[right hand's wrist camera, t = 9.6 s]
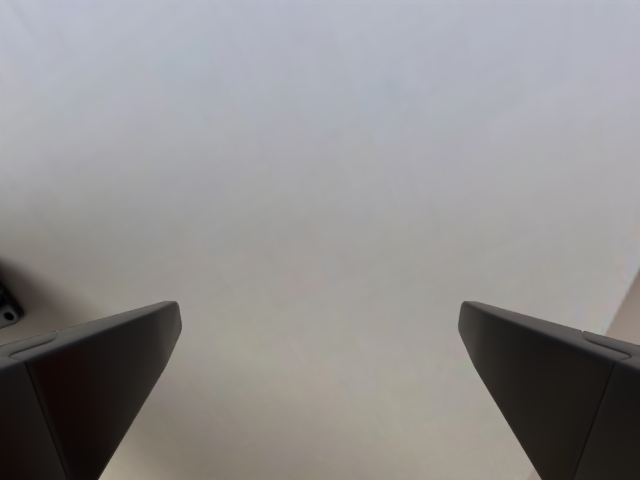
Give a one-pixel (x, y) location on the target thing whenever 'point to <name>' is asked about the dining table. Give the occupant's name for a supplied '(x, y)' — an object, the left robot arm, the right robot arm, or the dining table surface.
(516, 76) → the dining table surface
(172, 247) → the dining table surface
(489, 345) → the right robot arm
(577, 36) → the dining table surface
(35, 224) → the dining table surface
